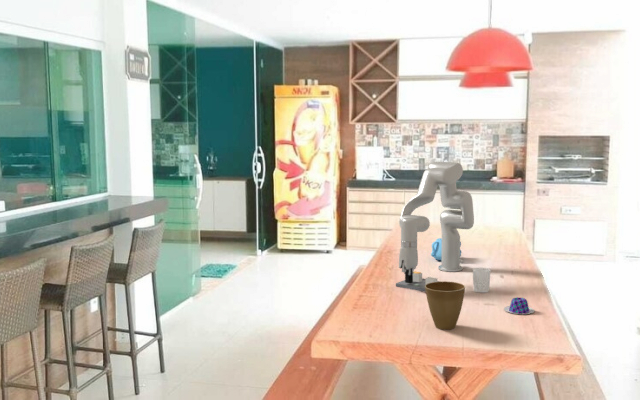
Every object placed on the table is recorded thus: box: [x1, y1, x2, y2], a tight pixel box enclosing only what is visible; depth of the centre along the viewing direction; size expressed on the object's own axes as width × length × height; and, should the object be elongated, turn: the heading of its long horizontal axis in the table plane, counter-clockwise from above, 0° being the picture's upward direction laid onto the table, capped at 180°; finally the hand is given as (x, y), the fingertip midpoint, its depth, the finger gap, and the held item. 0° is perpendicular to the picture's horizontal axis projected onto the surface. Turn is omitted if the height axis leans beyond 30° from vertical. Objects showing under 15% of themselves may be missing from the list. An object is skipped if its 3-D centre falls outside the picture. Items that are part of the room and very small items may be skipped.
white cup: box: [472, 267, 491, 294], centre depth 291 cm, size 8×8×10 cm
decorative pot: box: [430, 237, 462, 261], centre depth 357 cm, size 16×16×14 cm
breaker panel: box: [395, 277, 442, 293], centre depth 299 cm, size 16×24×2 cm, turn 50°
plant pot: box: [425, 281, 466, 331], centre depth 240 cm, size 15×15×16 cm
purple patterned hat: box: [503, 297, 535, 315], centre depth 260 cm, size 12×12×5 cm
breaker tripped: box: [412, 270, 423, 282], centre depth 303 cm, size 3×4×4 cm
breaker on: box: [425, 276, 438, 284], centre depth 292 cm, size 3×4×4 cm
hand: (408, 282), depth 298 cm, fingers closed
